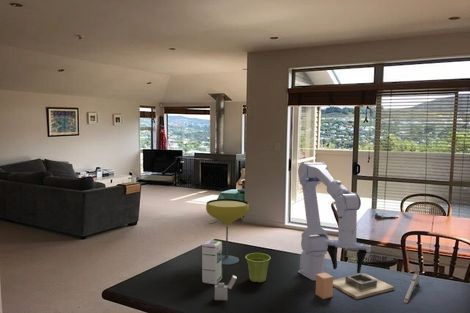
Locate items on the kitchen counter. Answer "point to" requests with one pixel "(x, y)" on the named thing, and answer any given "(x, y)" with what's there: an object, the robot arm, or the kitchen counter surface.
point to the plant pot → (257, 266)
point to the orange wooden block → (324, 285)
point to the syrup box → (212, 261)
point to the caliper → (412, 285)
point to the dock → (361, 285)
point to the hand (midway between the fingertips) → (346, 270)
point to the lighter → (223, 289)
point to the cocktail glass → (227, 218)
